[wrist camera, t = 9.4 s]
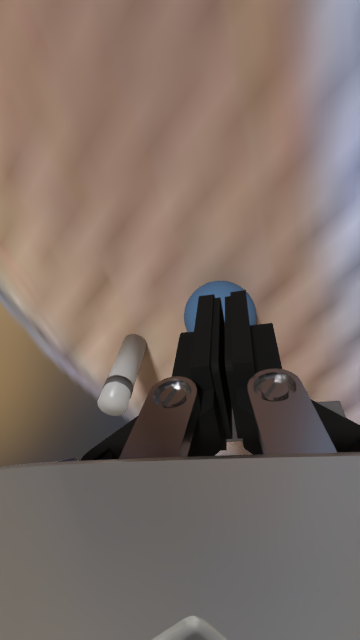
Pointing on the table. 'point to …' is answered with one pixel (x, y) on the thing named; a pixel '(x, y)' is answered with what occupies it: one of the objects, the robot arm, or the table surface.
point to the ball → (219, 290)
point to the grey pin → (122, 376)
